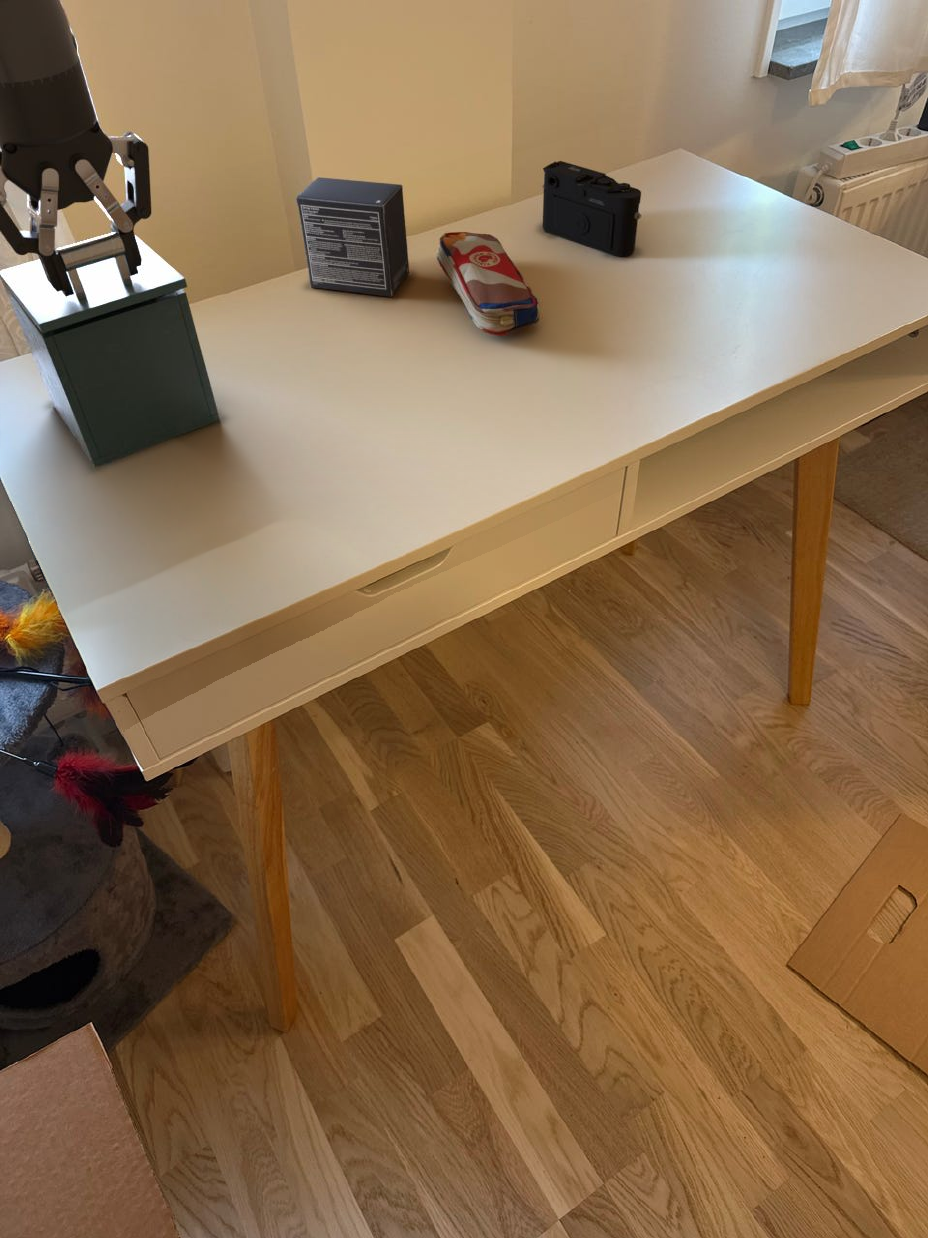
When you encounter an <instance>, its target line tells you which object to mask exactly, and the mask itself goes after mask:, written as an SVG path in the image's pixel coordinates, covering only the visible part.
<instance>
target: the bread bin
mask: <svg viewBox="0 0 928 1238" xmlns="http://www.w3.org/2000/svg"><path fill="white" fill-rule="evenodd" d="M1 283H2V285H3V288H4V291H5V292H6V294H7V297H8V299H9V301H10V304H11V307H12V309H13V311H14V314H15V316H16V320H17V321H18V324H19V326H20V328H21V331H22V333H23V335H24V338H25V340H26V343H27V346H28V347H29V350H30V352H31V354H32V357H33V359H34V362H35V364H36V367H37V369H38V371H39V374H40V377H41V378H42V382H43V384H44V386H45V388H46V391H47V394H48V396H49V398H50V401H51V403H52V405H53V407H54V408H55V410H56V411H57V413H58V414H59V416H60V417H61V419H62V421H63V422H64V424H65V425H66V426H67V428H68V429H69V431H70V432H71V434H72V435H73V437H74V438H75V440H76V441H77V443H78V445H79V446H80V448H81V449H82V450H83V452H84V453H85V455H86V456H87V458H88V460H89V461H90V462H91V464H92V465H93V467H94V468H98V467H101V466H103V465H105V464H108V463H111V462H113V461H116V460H119V459H121V458H125V457H126V456H130V455H132V454H135V453H137V452H140V451H142V450H145V449H148V448H150V447H153V446H155V445H158V444H161V443H163V442H166V441H169V440H171V439H174V438H177V437H179V436H182V435H184V434H188V433H190V432H193V431H195V430H198V429H200V428H203V427H205V426H208V425H211V424H213V423H216V422H219V421H220V420H221V418H220V415H219V411H218V407H217V403H216V400H215V396H214V392H213V388H212V385H211V382H210V381H211V380H210V377H209V374H208V370H207V367H206V363H205V359H204V355H203V351H202V348H201V344H200V340H199V336H198V333H197V329H196V324H195V322H194V317H193V313H192V310H191V307H190V303H189V299H188V296H187V292H186V291H185V290H184V288H183V289H180V290H177V291H174V292H171V293H168V294H165V295H161V296H158V297H155V298H152V299H149V300H146V301H143V302H139V303H136V304H133V305H130V306H127V307H124V308H121V309H118V310H114V311H111V312H108V313H105V314H102V315H99V316H96V317H93V318H89V319H86V320H83V321H80V322H77V323H74V324H71V325H68V326H64V327H61V328H58V329H55V330H52V331H49V332H46V333H42V332H41V331H40V329H39V328H38V327H37V325H36V324H35V323H34V322H33V320H32V319H31V318H30V316H29V315H28V314H27V313H26V311H25V310H24V309H23V307H22V306H21V305H20V303H19V302H18V301H17V300H16V298H15V297H14V296H13V294H12V293H11V292H10V290H9V289H8V288H7V287H6V285H5V284H4V283H3V281H2V280H1Z"/></svg>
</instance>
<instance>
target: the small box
mask: <svg viewBox="0 0 928 1238" xmlns="http://www.w3.org/2000/svg"><path fill="white" fill-rule="evenodd" d="M295 200H296V204H297V209H298V214H299V221H300V225H301V234H302V239H303V244H304V252H305V257H306V265H307V269H308V277H309V286H310V288H315V289H316V288H317V289H325V290H332V291H340V292H349V293H356V294H357V293H358V294H364V295H366V294H367V295H373V296H381V297H389V298H390V297H393V296H394V295H396V292H397V291H398V289H399V288H400V287H401V285H402V284H403V283H404V282H405V281H406V279H407V278H408V276H409V275H410V265H409V254H408V239H407V227H406V216H405V203H404V202H405V201H404V191H403V184H400V183H398V184H397V183H386V182H378V181H377V182H375V181H364V180H353V179H343V178H330V177H320V176H319V177H316V178H315V179H314V180H313V181H312V182H311V183H309V184H308V186H306V188H304V189H303V190H302V191H301V192H300V193H299V194H298V195H296V197H295Z"/></svg>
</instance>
